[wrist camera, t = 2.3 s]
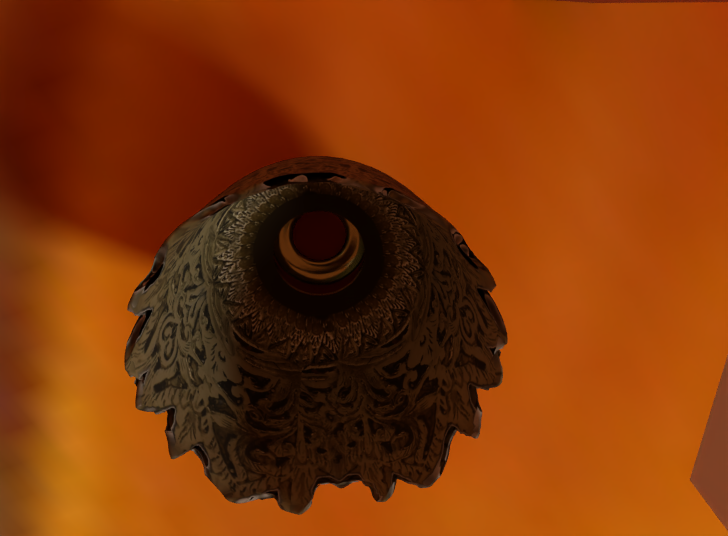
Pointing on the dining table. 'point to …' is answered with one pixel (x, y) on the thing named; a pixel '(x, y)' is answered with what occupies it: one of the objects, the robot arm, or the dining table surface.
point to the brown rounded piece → (315, 337)
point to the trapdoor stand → (642, 1)
